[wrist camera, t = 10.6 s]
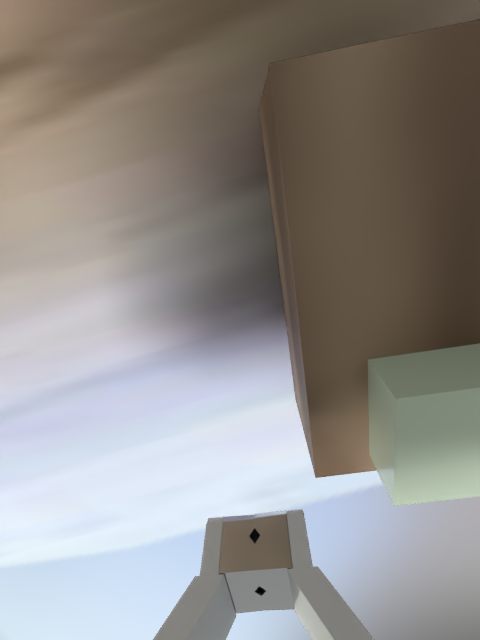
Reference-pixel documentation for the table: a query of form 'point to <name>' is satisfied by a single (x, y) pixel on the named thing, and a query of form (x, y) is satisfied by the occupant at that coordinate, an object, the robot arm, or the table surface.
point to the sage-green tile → (426, 424)
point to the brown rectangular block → (373, 218)
